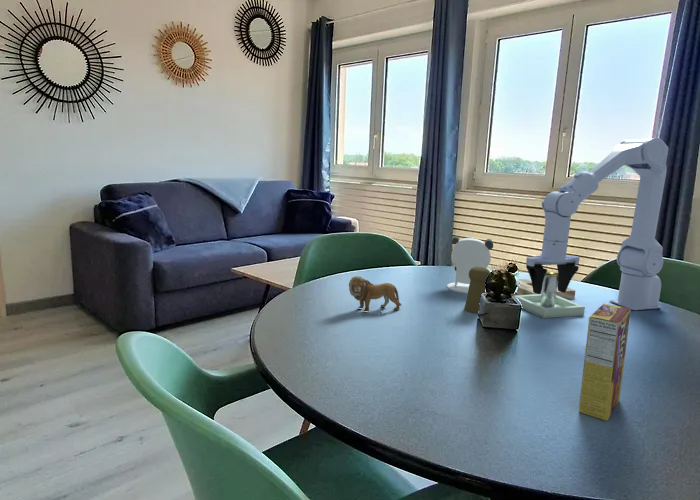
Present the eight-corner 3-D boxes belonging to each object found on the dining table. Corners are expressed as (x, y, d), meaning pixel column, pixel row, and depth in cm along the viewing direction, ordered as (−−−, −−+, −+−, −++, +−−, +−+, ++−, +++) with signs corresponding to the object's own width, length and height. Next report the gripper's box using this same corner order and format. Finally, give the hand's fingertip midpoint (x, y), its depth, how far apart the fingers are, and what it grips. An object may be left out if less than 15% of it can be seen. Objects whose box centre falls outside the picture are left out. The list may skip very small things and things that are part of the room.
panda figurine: (488, 285, 142) (493, 237, 139) (489, 295, 131) (494, 243, 128) (448, 281, 145) (452, 234, 142) (445, 291, 134) (449, 239, 131)
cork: (489, 315, 114) (493, 271, 112) (464, 312, 115) (468, 269, 113) (487, 307, 120) (491, 266, 118) (463, 305, 121) (467, 264, 119)
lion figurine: (353, 316, 110) (354, 279, 108) (343, 309, 115) (345, 274, 113) (406, 310, 116) (408, 275, 114) (395, 303, 121) (397, 270, 119)
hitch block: (540, 285, 144) (541, 278, 144) (574, 298, 131) (575, 290, 131) (502, 287, 140) (502, 280, 140) (532, 301, 127) (533, 293, 127)
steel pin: (548, 304, 122) (552, 271, 121) (557, 308, 119) (561, 274, 117) (536, 304, 122) (541, 271, 120) (545, 309, 118) (549, 274, 116)
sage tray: (550, 301, 128) (551, 293, 127) (583, 315, 116) (584, 306, 116) (513, 303, 124) (513, 295, 124) (543, 318, 113) (544, 309, 113)
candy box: (590, 391, 77) (603, 302, 74) (620, 400, 74) (634, 308, 72) (575, 411, 70) (588, 315, 68) (607, 422, 68) (622, 322, 65)
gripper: (567, 236, 123) (561, 286, 125) (520, 237, 118) (515, 289, 121) (588, 241, 116) (581, 294, 119) (539, 242, 112) (533, 297, 114)
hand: (549, 292), depth 119 cm, fingers open, 7 cm apart
